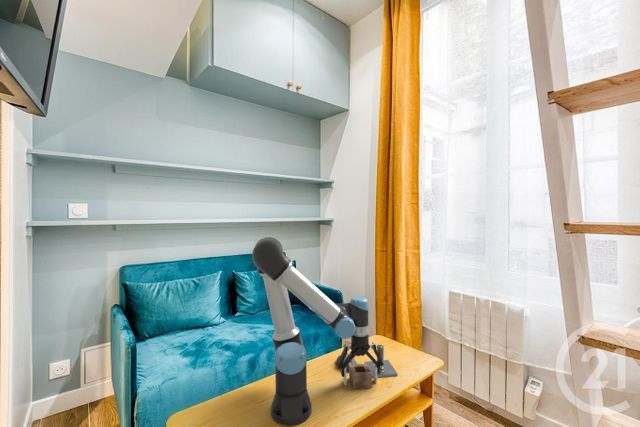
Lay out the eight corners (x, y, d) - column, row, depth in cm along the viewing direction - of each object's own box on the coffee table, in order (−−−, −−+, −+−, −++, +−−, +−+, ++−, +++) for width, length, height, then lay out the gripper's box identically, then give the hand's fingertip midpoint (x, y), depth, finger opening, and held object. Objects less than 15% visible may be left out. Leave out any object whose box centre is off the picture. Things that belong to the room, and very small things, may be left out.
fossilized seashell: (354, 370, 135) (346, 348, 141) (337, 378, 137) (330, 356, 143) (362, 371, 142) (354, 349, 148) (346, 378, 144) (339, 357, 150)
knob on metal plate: (371, 377, 132) (371, 353, 132) (364, 363, 144) (364, 341, 144) (397, 375, 133) (397, 351, 133) (388, 361, 145) (388, 339, 145)
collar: (353, 389, 124) (353, 375, 124) (349, 378, 132) (349, 365, 132) (371, 387, 125) (371, 373, 125) (366, 376, 133) (366, 363, 133)
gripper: (332, 339, 123) (333, 389, 123) (390, 335, 126) (391, 384, 126) (330, 331, 130) (330, 379, 130) (384, 328, 133) (385, 374, 133)
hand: (360, 382), depth 128 cm, fingers open, 13 cm apart
